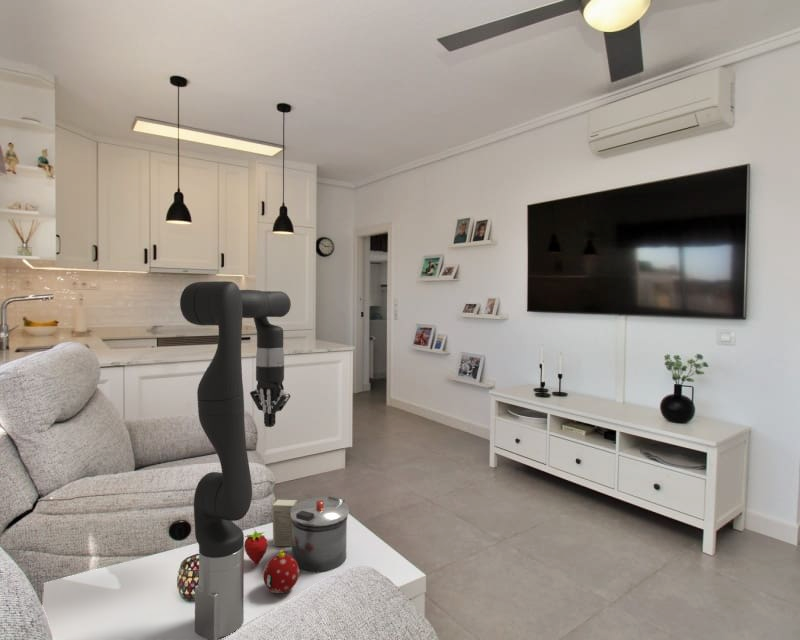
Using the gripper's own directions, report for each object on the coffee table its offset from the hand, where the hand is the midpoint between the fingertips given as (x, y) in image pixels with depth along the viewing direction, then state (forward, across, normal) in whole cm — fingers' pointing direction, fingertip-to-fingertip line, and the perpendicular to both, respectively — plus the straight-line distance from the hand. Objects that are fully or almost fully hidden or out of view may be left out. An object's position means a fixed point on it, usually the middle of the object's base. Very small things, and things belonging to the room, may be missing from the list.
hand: (269, 426), depth 132 cm
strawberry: (+37, -1, -4) cm, 37 cm away
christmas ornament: (+37, +13, -10) cm, 41 cm away
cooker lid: (+25, +12, +7) cm, 28 cm away
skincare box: (+37, -2, +9) cm, 38 cm away
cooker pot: (+37, +12, +7) cm, 40 cm away
